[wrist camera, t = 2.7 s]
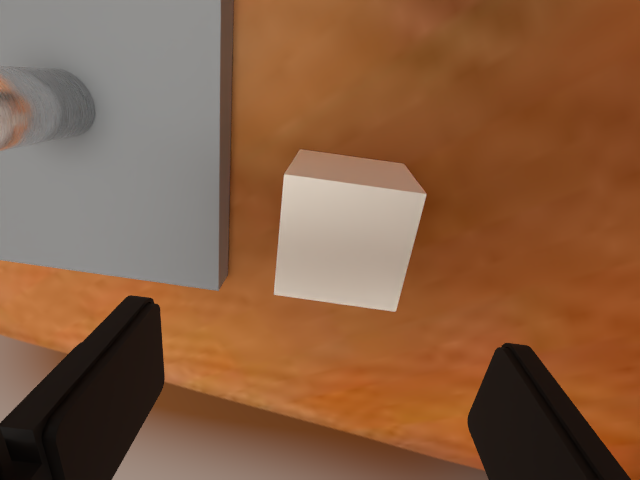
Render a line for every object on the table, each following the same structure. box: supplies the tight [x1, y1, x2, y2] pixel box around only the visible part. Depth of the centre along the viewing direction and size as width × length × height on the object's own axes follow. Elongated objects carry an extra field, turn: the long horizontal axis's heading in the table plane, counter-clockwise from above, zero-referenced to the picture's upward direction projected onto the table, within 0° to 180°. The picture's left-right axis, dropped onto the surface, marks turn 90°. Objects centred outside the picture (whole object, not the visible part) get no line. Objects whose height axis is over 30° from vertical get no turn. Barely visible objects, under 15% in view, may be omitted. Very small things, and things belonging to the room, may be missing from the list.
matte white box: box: [274, 149, 427, 312], centre depth 19 cm, size 6×6×6 cm
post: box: [0, 66, 96, 151], centre depth 15 cm, size 3×3×7 cm
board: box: [0, 0, 234, 291], centre depth 19 cm, size 16×20×2 cm
